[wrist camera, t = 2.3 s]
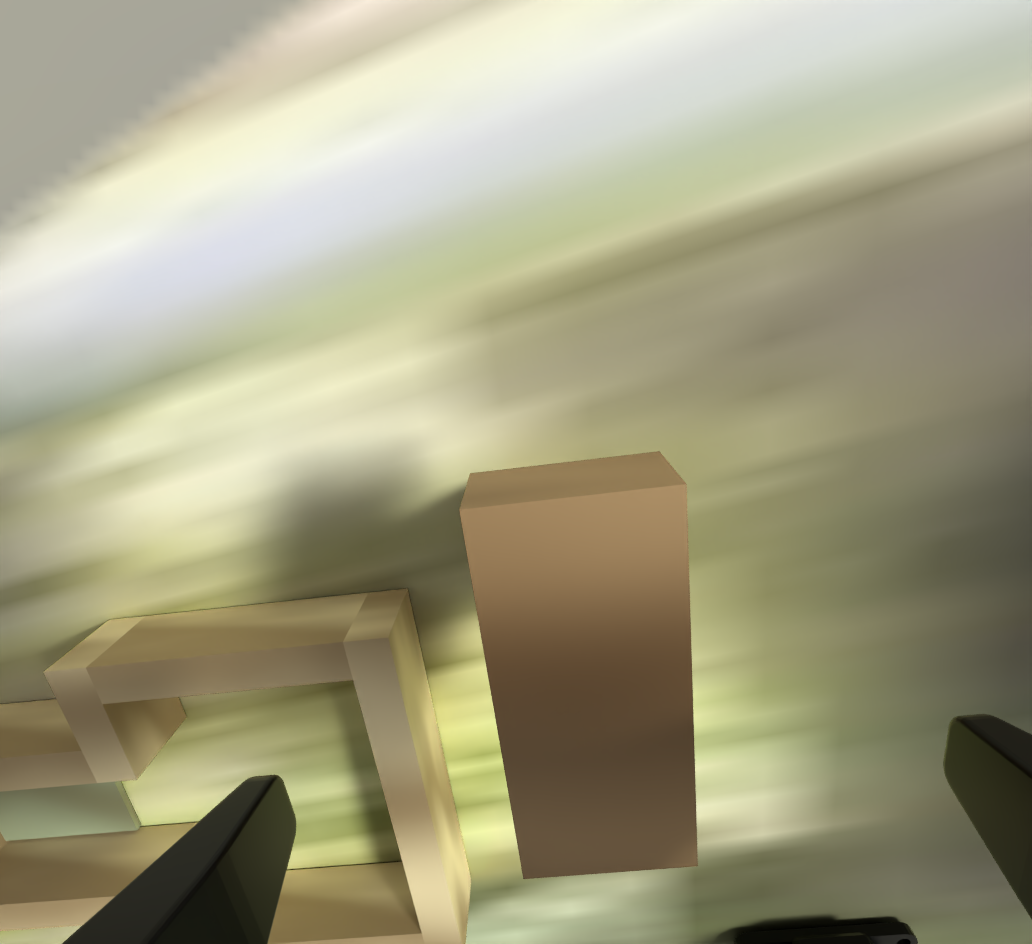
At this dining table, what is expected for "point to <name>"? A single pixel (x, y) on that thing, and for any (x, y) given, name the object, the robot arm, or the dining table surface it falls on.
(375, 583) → the dining table surface
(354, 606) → the keyhole cradle
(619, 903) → the dining table surface
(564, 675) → the tan brick
